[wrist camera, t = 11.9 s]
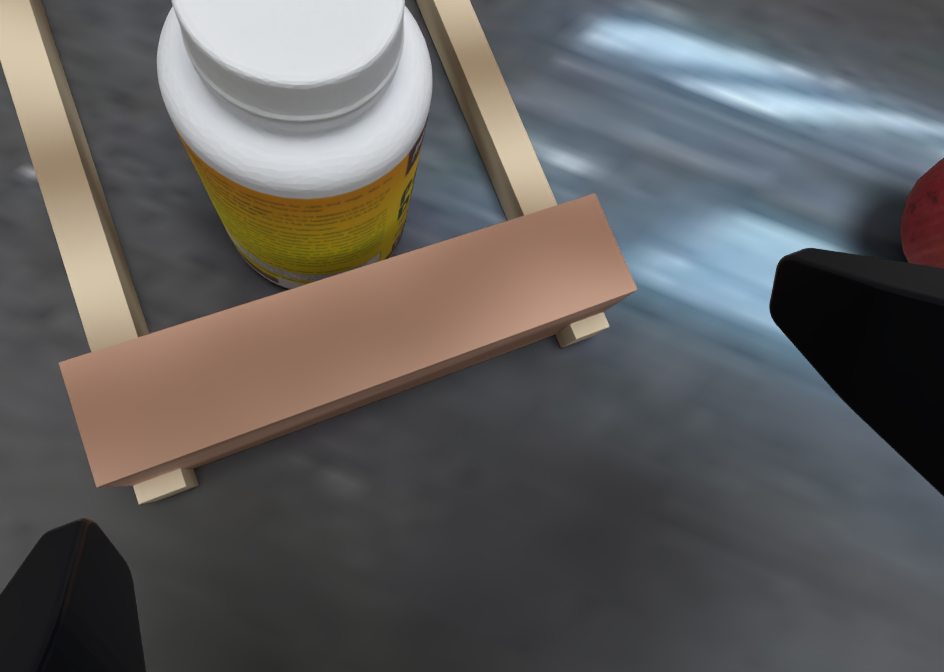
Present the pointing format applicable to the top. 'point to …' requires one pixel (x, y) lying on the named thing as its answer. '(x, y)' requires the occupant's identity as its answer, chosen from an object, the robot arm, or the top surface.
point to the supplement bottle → (300, 124)
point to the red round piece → (925, 220)
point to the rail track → (304, 288)
